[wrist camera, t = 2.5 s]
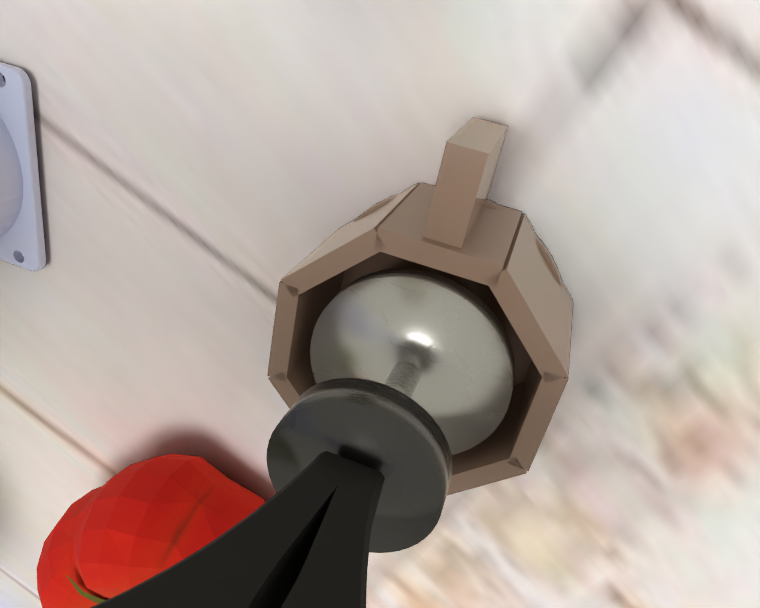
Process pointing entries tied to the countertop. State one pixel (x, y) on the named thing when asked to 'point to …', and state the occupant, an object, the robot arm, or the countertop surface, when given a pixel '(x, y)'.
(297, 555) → the robot arm
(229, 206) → the countertop surface
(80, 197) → the countertop surface
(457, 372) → the plunger
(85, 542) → the tomato
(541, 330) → the press carafe
